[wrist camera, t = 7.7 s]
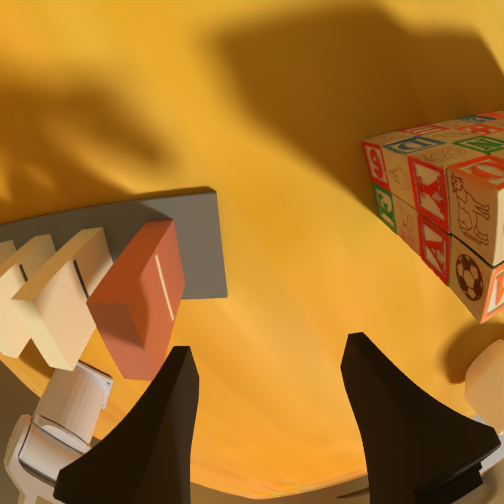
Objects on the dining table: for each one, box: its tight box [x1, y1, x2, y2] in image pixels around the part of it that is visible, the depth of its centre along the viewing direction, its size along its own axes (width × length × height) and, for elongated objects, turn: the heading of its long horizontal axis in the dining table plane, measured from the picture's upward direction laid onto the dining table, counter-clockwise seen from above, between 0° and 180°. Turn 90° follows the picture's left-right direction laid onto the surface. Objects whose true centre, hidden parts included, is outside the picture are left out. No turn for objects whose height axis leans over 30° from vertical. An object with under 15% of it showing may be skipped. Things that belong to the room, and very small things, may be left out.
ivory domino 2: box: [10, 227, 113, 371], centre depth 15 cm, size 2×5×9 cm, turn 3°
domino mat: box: [0, 191, 227, 299], centre depth 19 cm, size 28×8×1 cm, turn 93°
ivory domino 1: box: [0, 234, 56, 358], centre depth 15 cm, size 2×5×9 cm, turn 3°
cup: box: [464, 339, 504, 435], centre depth 24 cm, size 13×13×14 cm
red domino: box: [86, 220, 186, 381], centre depth 15 cm, size 2×5×9 cm, turn 3°
